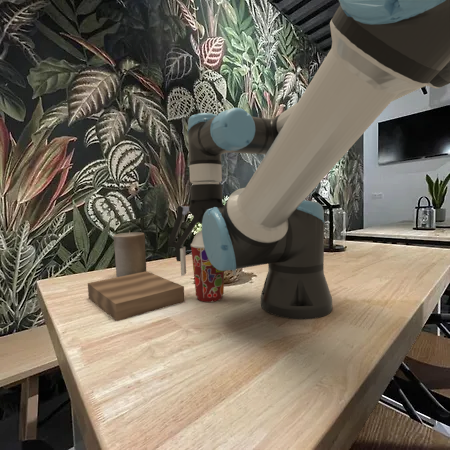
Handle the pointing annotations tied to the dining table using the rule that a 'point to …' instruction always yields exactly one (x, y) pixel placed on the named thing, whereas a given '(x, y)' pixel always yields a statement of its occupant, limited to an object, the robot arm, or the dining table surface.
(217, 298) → the smoothie
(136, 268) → the pillar candle
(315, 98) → the robot arm
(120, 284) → the walnut shelf board
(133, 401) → the dining table surface
